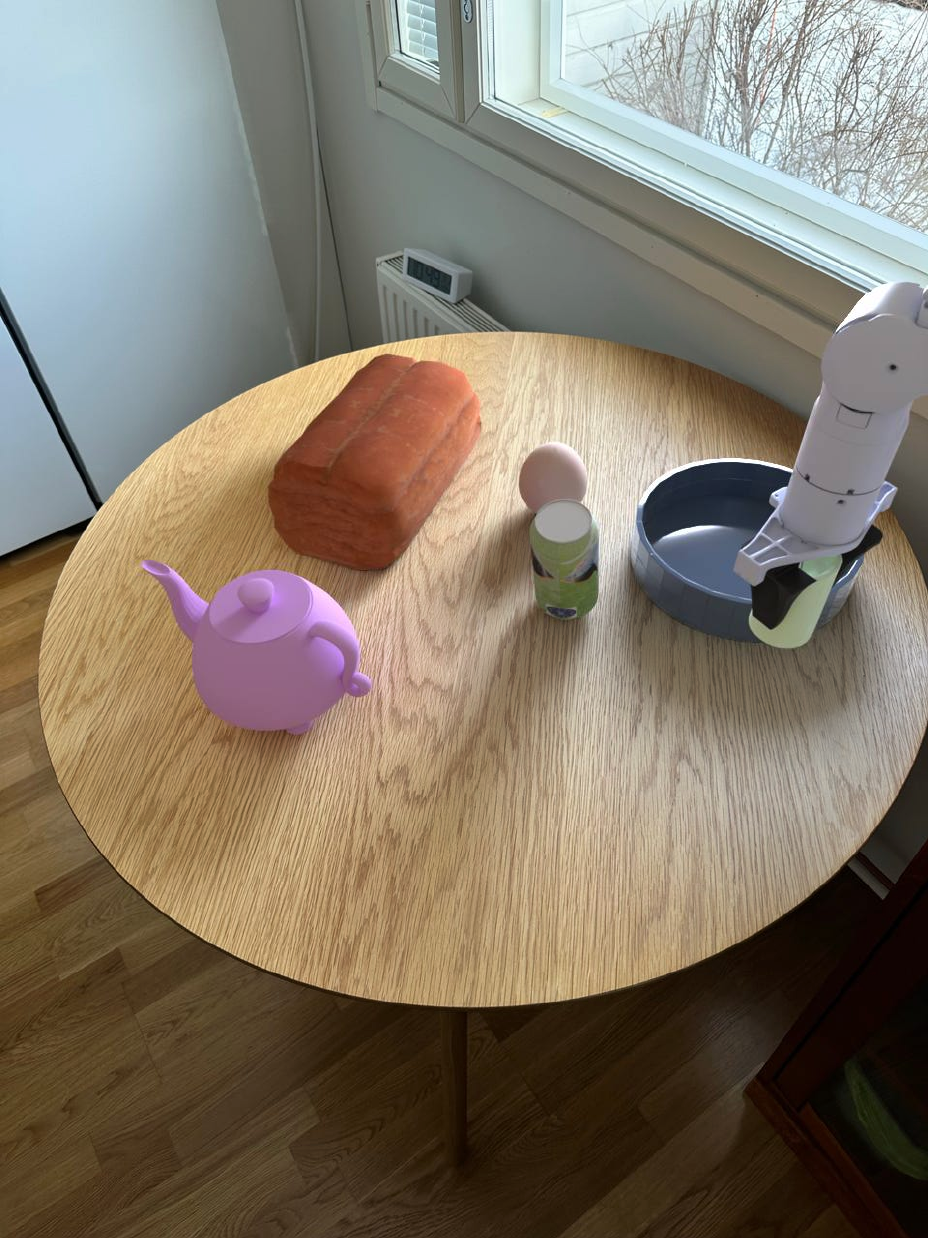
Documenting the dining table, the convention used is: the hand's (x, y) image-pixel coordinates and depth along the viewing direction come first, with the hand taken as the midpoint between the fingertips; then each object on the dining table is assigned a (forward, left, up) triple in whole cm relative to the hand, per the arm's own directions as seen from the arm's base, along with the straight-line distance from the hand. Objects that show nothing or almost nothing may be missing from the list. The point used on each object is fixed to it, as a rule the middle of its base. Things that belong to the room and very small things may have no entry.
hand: (788, 606), depth 66 cm
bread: (+40, -21, -10) cm, 46 cm away
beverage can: (+18, -6, -10) cm, 21 cm away
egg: (+21, -20, -10) cm, 31 cm away
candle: (0, 0, -3) cm, 3 cm away
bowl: (+2, -15, -9) cm, 18 cm away
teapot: (+42, +8, -10) cm, 44 cm away
